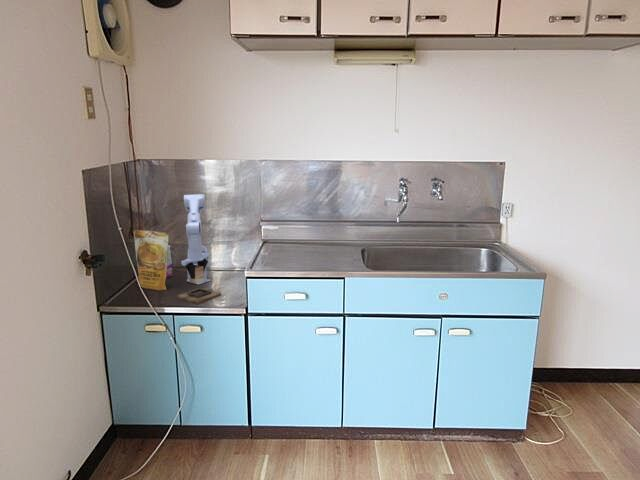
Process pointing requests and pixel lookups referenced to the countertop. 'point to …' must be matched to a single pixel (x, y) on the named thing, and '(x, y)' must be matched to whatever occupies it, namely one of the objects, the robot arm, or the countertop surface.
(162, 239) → the pancake mix bag
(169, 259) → the candy bar box
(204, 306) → the countertop surface
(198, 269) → the block stack
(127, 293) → the countertop surface
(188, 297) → the socket board
